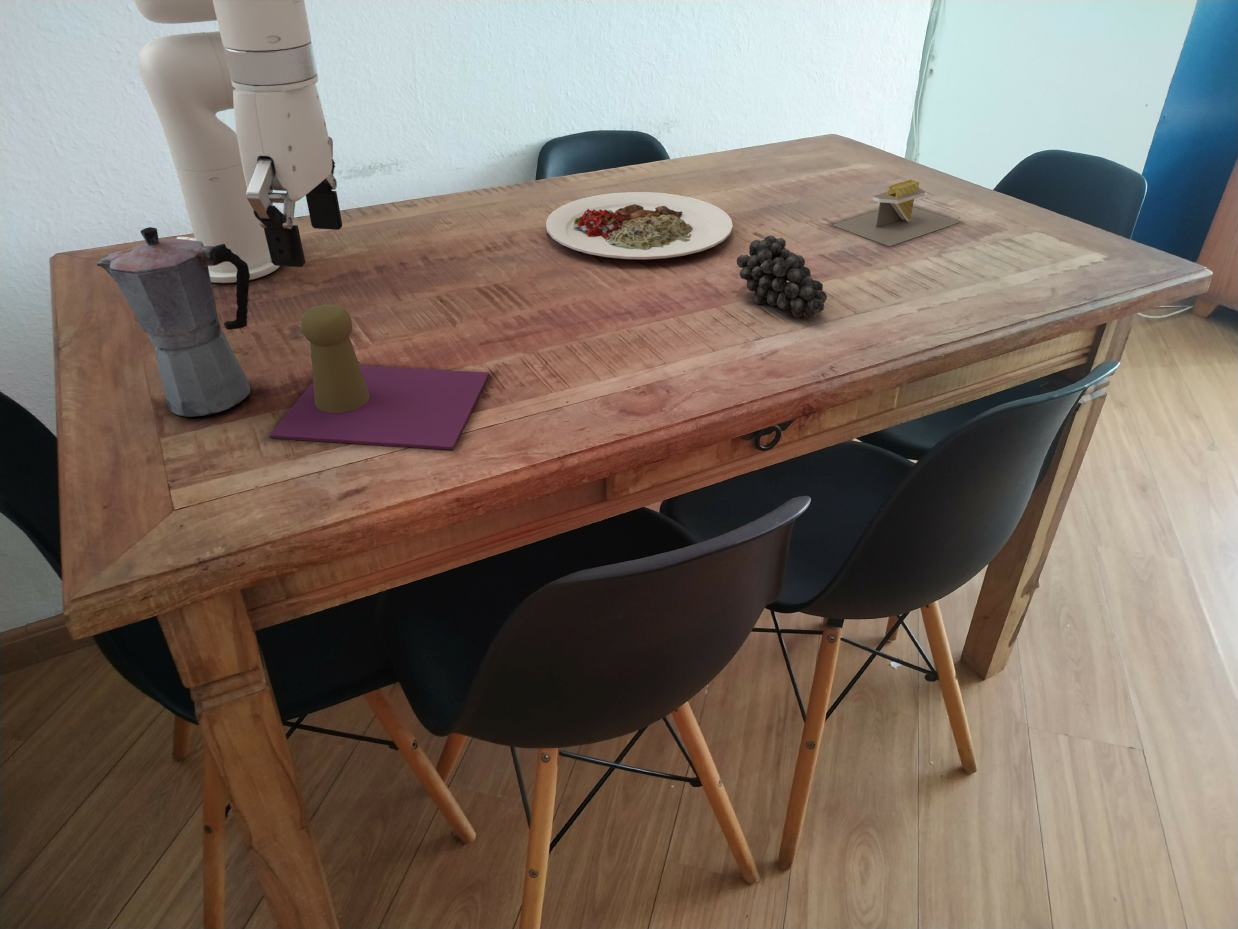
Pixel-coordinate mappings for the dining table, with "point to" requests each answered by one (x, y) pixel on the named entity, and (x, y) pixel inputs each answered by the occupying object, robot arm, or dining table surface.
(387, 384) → the placemat
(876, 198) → the platform
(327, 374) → the pepper mill
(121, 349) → the dining table surface
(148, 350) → the dining table surface
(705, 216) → the plated food
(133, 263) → the moka pot
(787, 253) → the fruit
